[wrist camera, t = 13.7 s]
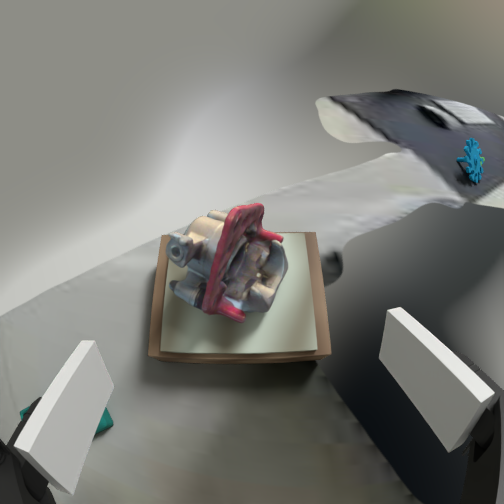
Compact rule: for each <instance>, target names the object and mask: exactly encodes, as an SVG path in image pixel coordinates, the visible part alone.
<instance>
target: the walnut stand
mask: <svg viewBox="0 0 504 504" xmlns="http://www.w3.org/2000/svg"><path fill="white" fill-rule="evenodd" d="M276 234H279V235H281V236H283V237H284V239H283V242H282V243H281V244H282V245H283V247H284V250H285V254H286V257H287V260H288V270H287V272H286V274H285V276H284V278H283V280H282V282H281V284H280V285H279V287H278V290H277V293H276V296H275V299H274V302H273V304H272V306H271V308H270V310H269V311H268V312H265V313H261V312H252V313H249V312H246V311H244V313H245V315H246V321H245V322H244V323H239V322H236V321H234V320H232V319H230V318H228V317H226V316H223V315H218V314H216V315H208V314H206V313H204V312H203V311H202V310H200V309H198V308H195V307H193V306H191V305H190V304H188V303H187V302H186V301H184V300H183V299H181V298H179V297H178V296H176V295H175V293H174V292H173V291H172V290H171V289H170V288H169V283H170V281H172V280H177V281H182V280H185V279H186V274H187V271H188V267H187V265H186V266H185V267H183V268H180V267H179V266H177V265H176V264H174V263H173V262H172V261H171V260H170V259H169V258H168V257H167V255H166V246H167V243H168V242H169V241H170V239H171V238H170V237H169V235H162V237H161V243H160V249H159V256H158V263H157V270H156V277H155V285H154V293H153V302H152V312H151V322H150V334H149V348H148V356H150V357H152V358H155V359H157V360H159V361H165V362H181V363H205V364H257V363H282V362H298V361H311V360H321V359H323V358H325V357H327V356H328V355H330V354H331V346H330V336H329V326H328V317H327V308H326V300H325V292H324V284H323V277H322V270H321V263H320V257H319V250H318V244H317V238H316V232H276Z"/></svg>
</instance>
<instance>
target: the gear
mask: <svg viewBox="0 0 504 504" xmlns="http://www.w3.org/2000/svg"><path fill="white" fill-rule="evenodd" d="M466 144H467V146H465V147H464V151H465V152H466V154H467V156H464V158H457V162H467V163H468V164H469V167H466V172H467V173H471V175H469V178H470V180H471V181H473V182H476V183H478V180H481V174H480V173H483V168H482V167H481V165H482V164H483V161H485V159H484V157H480V156H479V154H482V152H481V149H477V147H478V146H479V145H478V142H477V141H475V140H474V139H473V138H470V140H466Z"/></svg>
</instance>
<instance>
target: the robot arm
mask: <svg viewBox="0 0 504 504" xmlns="http://www.w3.org/2000/svg"><path fill="white" fill-rule="evenodd" d="M379 359H380V360H381V361H382V363H383V364H384V365H385V366H386V368H387V369H388V370H389V372H390V373H391V374H392V376H393V377H394V378H395V380H396V381H397V382H398V383H399V385H400V386H401V387H402V389H403V390H404V391H405V393H406V394H407V395H408V397H409V398H410V399H411V401H412V402H413V404H414V405H415V406H416V408H417V409H418V410H419V412H420V413H421V414H422V416H423V417H424V419H425V420H426V421H427V422H428V424H429V425H430V427H431V428H432V430H433V431H434V432H435V434H436V435H437V437H438V438H439V439H440V441H441V442H442V444H443V445H444V447H445V448H446V449H447V451H448V452H450V451H452V450H454V449H455V448H457V447H459V446H460V445H462V444H463V443H464V441H465V440H466V439H467V437H468V436H469V434H470V435H471V436H472V437H473V439H472V440H471V441H470V443H469V444H468V445H467V447H466V448H465V450H464V451H463V453H462V455H463V456H464V455H465V454H466V452H467V451H468V450H469V453H468V456H469V458H468V465H467V471H466V477H465V483H464V487H463V492H462V497H461V501H460V504H504V390H502V389H501V388H500V387H499V386H498V385H497V384H496V383H495V382H494V381H493V380H492V379H491V378H490V377H489V376H487V375H486V374H485V373H484V372H483V371H482V370H480V368H479V367H478V366H477V365H474V363H473V362H472V361H471V360H470V359H469V358H468V357H467V356H465V355H463V354H461V353H459V352H454V353H453V352H451V351H450V350H449V349H448V348H447V347H446V346H445V345H444V344H443V343H441V342H440V341H439V340H438V339H437V338H436V337H435V336H433V335H432V334H431V333H430V332H429V331H428V330H427V329H426V328H424V327H423V326H422V325H421V324H420V323H419V322H417V321H416V320H415V319H414V318H413V317H412V316H410V315H409V314H408V313H407V312H406V311H405V310H403V309H402V308H401V307H399V308H394V309H390V310H387V315H386V322H385V328H384V334H383V339H382V345H381V350H380V355H379ZM113 388H114V384H113V382H112V380H111V378H110V376H109V373H108V371H107V369H106V367H105V364H104V362H103V359H102V357H101V355H100V352H99V350H98V347H97V344H96V342H95V341H84V340H82V341H81V342H80V344H79V345H78V346H77V348H76V349H75V350H74V352H73V353H72V355H71V356H70V357H69V359H68V360H67V362H66V363H65V364H64V366H63V367H62V369H61V370H60V372H59V373H58V374H57V376H56V377H55V379H54V380H53V382H52V383H51V385H50V386H49V388H48V389H47V391H46V392H45V394H44V395H43V397H39V398H38V399H37V400H36V401H34V402H33V403H32V404H31V406H30V407H29V409H28V410H27V412H26V414H25V415H24V417H23V418H22V421H21V422H20V423H19V425H18V427H17V428H16V430H15V432H14V433H13V435H12V437H11V438H10V440H9V442H8V444H7V445H5V444H4V443H3V442H2V440H1V439H0V504H56V502H55V500H54V498H53V495H52V493H51V491H50V489H49V488H48V487H47V485H48V483H51V484H52V485H53V486H54V487H55V488H56V489H57V490H60V491H63V492H66V493H68V494H71V495H73V494H74V491H75V488H76V485H77V482H78V479H79V476H80V473H81V470H82V467H83V464H84V461H85V459H86V456H87V453H88V450H89V448H90V445H91V442H92V440H93V437H94V434H95V432H96V429H97V427H98V424H99V422H100V419H101V417H102V414H103V412H104V410H105V407H106V405H107V402H108V400H109V398H110V395H111V393H112V391H113Z"/></svg>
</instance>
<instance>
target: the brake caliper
mask: <svg viewBox="0 0 504 504" xmlns="http://www.w3.org/2000/svg"><path fill="white" fill-rule="evenodd" d="M263 215H264V206H263V205H262V204H260V203H254V204H250V205H242V206H237V207H235V208H233V209H232V210H231V211H230V212H229V214H228V213H224V212H220V211H217V210H212V211H210V212H209V213H208V215H207V217H206V216H201V217H198V218H197V219H195V220H194V221H193V222H192V223H191V224H190V225H189V226H188V228H187V230H186V231H185V234H184V235H183V234H180V233H178V232H172V233H169V237H170V238H171V239H170V241H169V242H168V243H167V246H166V255H167V257H168V258H169V259H170V260H171V261H172V262H173V263H174V264H176V265H177V266H179V267H180V268H183V267H185V266H186V265H187V267H188V271H187V274H186V279H185V280H182V281H177V280H172V281H170V283H169V288H170V289H171V290H172V291H173V292H174V293H175V295H176V296H178V297H179V298H181V299H183V300H184V301H186V302H187V303H188V304H190V305H191V306H193V307H195V308H198V309H200V310H202V311H203V312H204V313H206V314H208V315H216V314H218V315H223V316H226V317H228V318H230V319H232V320H234V321H236V322H239V323H244V322H245V321H246V315H245V313H244V311H246V312H249V313H252V312H261V313H265V312H268V311H269V310H270V308H271V306H272V304H273V302H274V299H275V296H276V293H277V290H278V287H279V285H280V284H281V282H282V280H283V278H284V276H285V274H286V272H287V270H288V260H287V257H286V254H285V250H284V247H283V245H282V244H281V243H282V242H283V239H284V237H283V236H281V235H279V234H276V233H273V232H269V231H266V230H264V229H263V227H262V218H263Z"/></svg>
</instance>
